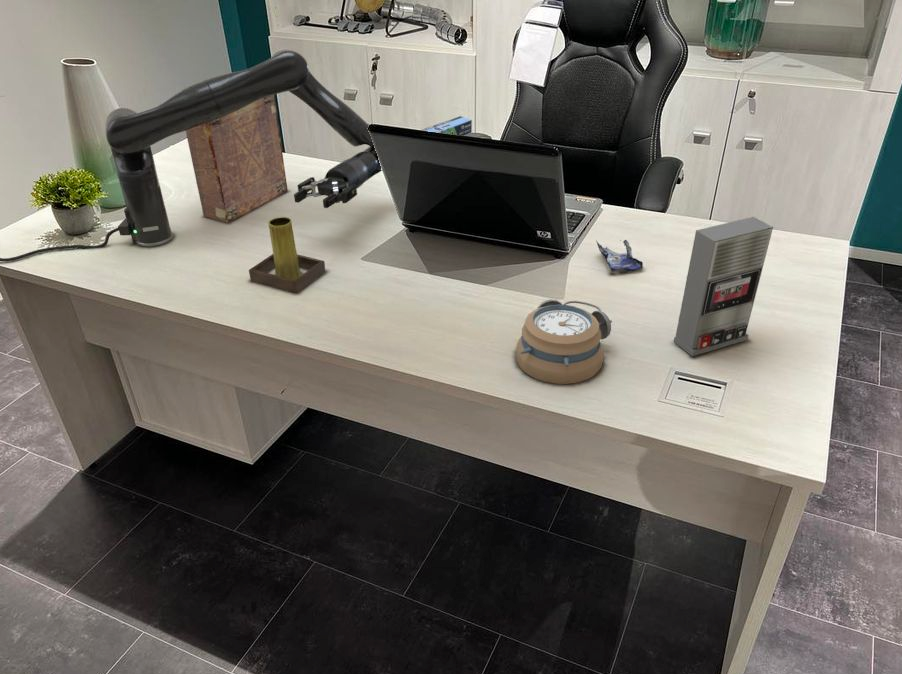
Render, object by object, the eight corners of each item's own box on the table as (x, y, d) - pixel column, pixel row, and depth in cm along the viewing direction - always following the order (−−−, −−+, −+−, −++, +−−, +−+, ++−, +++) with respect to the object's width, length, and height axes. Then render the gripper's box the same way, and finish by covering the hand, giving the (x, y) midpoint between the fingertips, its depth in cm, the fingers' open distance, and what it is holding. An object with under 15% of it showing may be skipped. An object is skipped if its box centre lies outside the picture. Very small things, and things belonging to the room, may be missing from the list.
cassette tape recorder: (692, 358, 151) (717, 243, 137) (673, 342, 156) (694, 230, 141) (747, 341, 156) (777, 228, 141) (727, 327, 160) (753, 216, 146)
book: (264, 185, 229) (248, 82, 212) (288, 191, 226) (273, 87, 208) (203, 217, 212) (180, 107, 194) (228, 224, 208) (206, 113, 190)
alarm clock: (503, 330, 144) (549, 277, 160) (501, 370, 150) (546, 315, 166) (589, 353, 137) (628, 295, 154) (584, 394, 143) (623, 334, 159)
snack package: (641, 254, 188) (593, 249, 190) (646, 232, 184) (597, 228, 185) (640, 284, 180) (590, 279, 182) (645, 262, 175) (594, 257, 177)
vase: (306, 273, 184) (298, 218, 176) (292, 284, 179) (283, 228, 171) (285, 268, 186) (276, 214, 178) (270, 279, 182) (260, 224, 173)
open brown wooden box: (250, 281, 181) (248, 270, 180) (280, 260, 190) (278, 249, 188) (297, 293, 176) (295, 282, 174) (325, 271, 184) (324, 260, 182)
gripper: (322, 158, 194) (283, 182, 183) (369, 166, 188) (332, 191, 177) (326, 186, 198) (288, 211, 187) (372, 194, 193) (336, 220, 181)
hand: (309, 201), depth 182 cm, fingers open, 8 cm apart
